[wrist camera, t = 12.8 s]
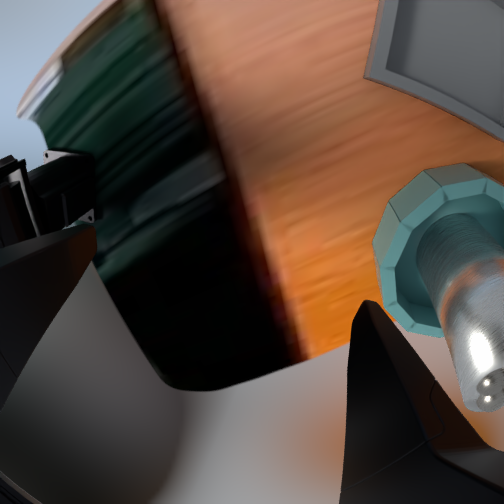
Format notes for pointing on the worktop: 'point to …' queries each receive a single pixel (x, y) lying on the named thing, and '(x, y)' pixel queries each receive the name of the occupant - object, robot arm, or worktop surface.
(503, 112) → the parts tray
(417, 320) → the bowl
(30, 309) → the robot arm
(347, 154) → the worktop surface
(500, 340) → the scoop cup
